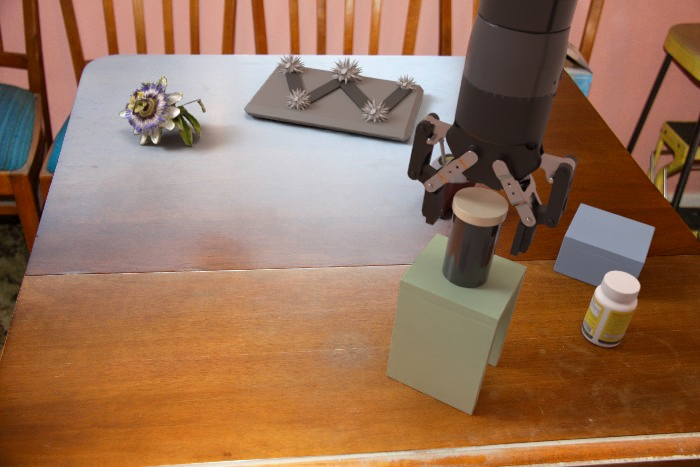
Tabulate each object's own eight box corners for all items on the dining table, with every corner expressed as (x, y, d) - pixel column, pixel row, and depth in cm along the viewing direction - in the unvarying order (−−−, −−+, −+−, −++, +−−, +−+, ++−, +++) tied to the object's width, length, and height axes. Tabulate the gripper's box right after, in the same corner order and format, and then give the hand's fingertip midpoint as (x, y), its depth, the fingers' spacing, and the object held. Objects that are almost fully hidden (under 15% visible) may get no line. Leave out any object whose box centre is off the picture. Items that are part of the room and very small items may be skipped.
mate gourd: (472, 201, 100) (492, 112, 91) (464, 229, 94) (483, 137, 85) (425, 190, 102) (439, 102, 93) (413, 217, 96) (428, 126, 87)
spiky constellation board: (242, 119, 116) (240, 81, 112) (278, 72, 133) (278, 38, 129) (408, 146, 112) (413, 108, 108) (423, 95, 129) (428, 60, 125)
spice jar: (497, 267, 65) (515, 197, 60) (480, 296, 62) (499, 224, 57) (450, 250, 67) (464, 181, 62) (432, 277, 64) (445, 206, 58)
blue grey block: (640, 261, 91) (655, 227, 87) (628, 298, 84) (644, 263, 81) (569, 237, 94) (580, 202, 91) (552, 270, 88) (564, 235, 84)
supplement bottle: (627, 334, 79) (651, 282, 74) (611, 355, 76) (635, 302, 71) (590, 314, 82) (611, 262, 76) (573, 333, 79) (594, 281, 74)
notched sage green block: (499, 360, 74) (527, 266, 66) (471, 415, 68) (498, 319, 59) (419, 326, 78) (436, 232, 69) (385, 375, 71) (400, 279, 63)
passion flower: (149, 171, 111) (100, 114, 105) (185, 134, 117) (140, 79, 112) (189, 156, 103) (137, 94, 98) (224, 117, 110) (178, 57, 105)
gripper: (410, 66, 52) (388, 229, 61) (590, 116, 47) (535, 285, 56) (446, 38, 57) (421, 193, 67) (611, 81, 52) (558, 241, 62)
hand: (473, 235), depth 62 cm, fingers open, 8 cm apart
